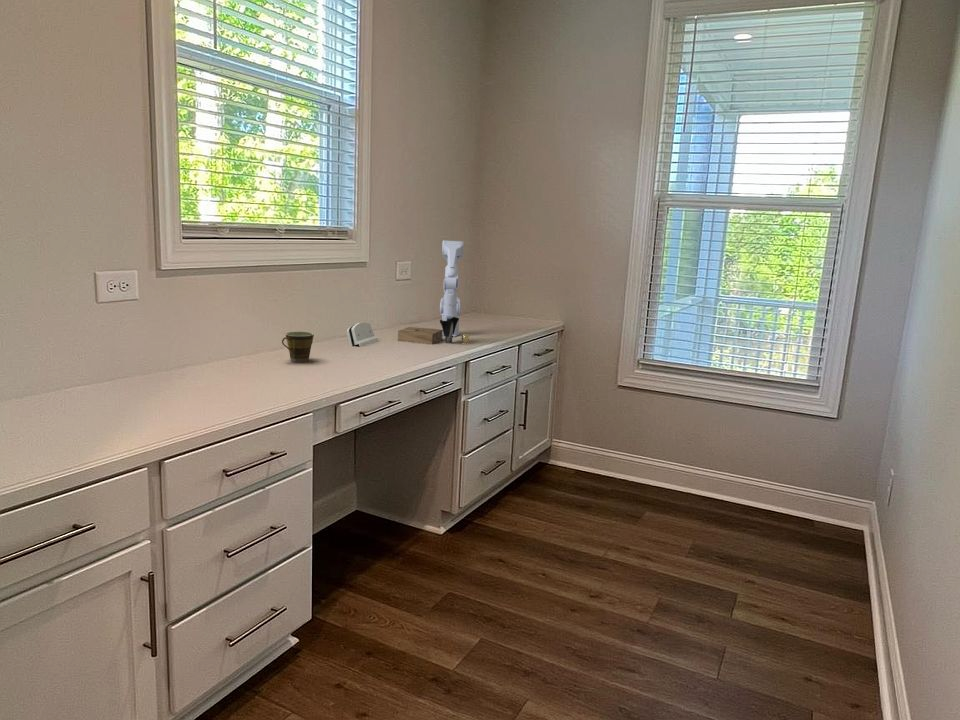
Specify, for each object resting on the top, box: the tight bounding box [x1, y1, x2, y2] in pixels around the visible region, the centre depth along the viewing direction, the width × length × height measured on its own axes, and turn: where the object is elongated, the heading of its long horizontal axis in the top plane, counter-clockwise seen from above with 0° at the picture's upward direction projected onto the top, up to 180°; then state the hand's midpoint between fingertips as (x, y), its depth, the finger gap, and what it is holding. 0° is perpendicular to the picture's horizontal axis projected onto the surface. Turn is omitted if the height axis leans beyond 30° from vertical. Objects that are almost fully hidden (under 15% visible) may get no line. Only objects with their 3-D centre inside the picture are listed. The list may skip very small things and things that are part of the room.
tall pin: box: [444, 323, 453, 344], centre depth 306 cm, size 3×3×9 cm
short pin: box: [460, 333, 470, 345], centre depth 307 cm, size 3×3×4 cm
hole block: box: [397, 326, 443, 345], centre depth 309 cm, size 14×16×4 cm
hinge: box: [346, 322, 379, 348], centre depth 295 cm, size 17×5×10 cm, turn 161°
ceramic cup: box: [281, 331, 314, 363], centre depth 253 cm, size 13×10×10 cm
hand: (448, 335), depth 306 cm, fingers open, 6 cm apart
